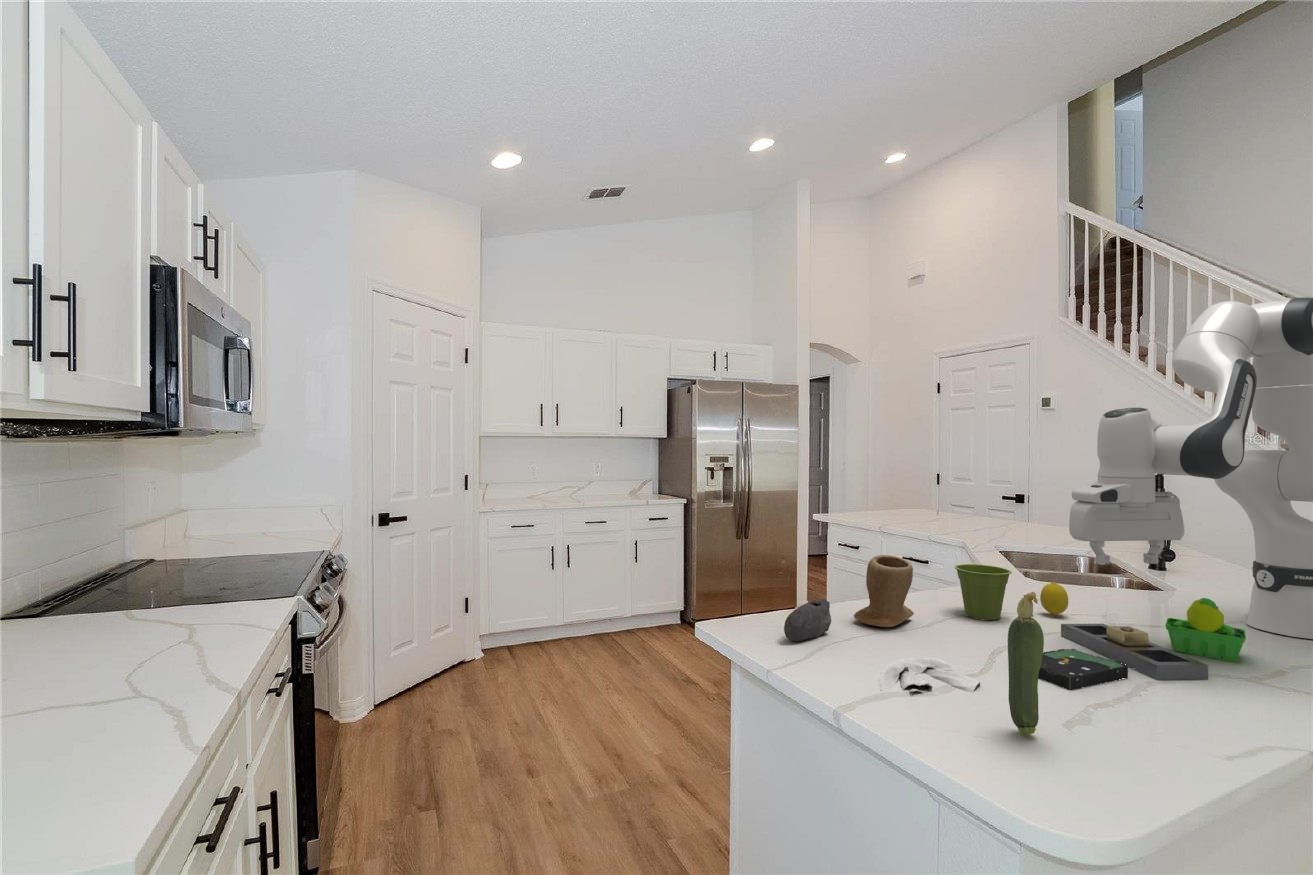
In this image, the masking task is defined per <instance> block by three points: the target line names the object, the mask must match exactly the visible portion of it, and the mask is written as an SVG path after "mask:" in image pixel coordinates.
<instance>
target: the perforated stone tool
mask: <svg viewBox="0 0 1313 875" xmlns="http://www.w3.org/2000/svg"><path fill="white" fill-rule="evenodd" d="M830 603H831V602H830V601H828V600H826V599H824V598H822V599H821V598H819V599H817V600H811V601H809V602H806V603H804V604H802V605H800V606H798V607H797V608H795V609H794V610H792V611H791V612H790V614H788V616H787V617H786V619H785V621H784V626H783V632H784V635H785V638H786V639H787V640H788V641H790V642H802V641H805V640H811V639H814V638H817V637H820V636H821V635H823V634H824V633H826V632H828V631H829V628H830V626H831V624H832V616H831V613H830V612H831V611H830V606H831V604H830Z"/></svg>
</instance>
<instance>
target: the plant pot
mask: <svg viewBox="0 0 1313 875" xmlns="http://www.w3.org/2000/svg"><path fill="white" fill-rule="evenodd" d="M954 569H955V570H956V571H957V577H958V580H959V585H960V591H961V595H962V602H963V608H964V614H965V615H966V616H967V617H972V618H973V619H975V620H979V621H981V620H984V621H993V620H1000V618H1001V615H1002V611H1003V605H1004V604H1003V603H1004V598H1005V593H1006V587H1007V584H1008V581H1009V577H1010V575H1011V574H1012V573H1013V572H1012V570H1011V569H1007V568H1004V567H1000V566H995V565H987V564H976V563H974V564H973V563H961V564H956V565H954Z"/></svg>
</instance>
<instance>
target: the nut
mask: <svg viewBox="0 0 1313 875" xmlns="http://www.w3.org/2000/svg"><path fill="white" fill-rule="evenodd" d="M1107 641H1110V642H1112V643H1114V644H1117V645H1119V646H1121V647H1124V648H1142V647H1148V641H1149V633H1148V632H1146V631H1143V630H1141V629H1138V628H1135V627H1133V626H1130V625H1111V626H1110V625H1108V626H1107Z"/></svg>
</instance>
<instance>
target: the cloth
mask: <svg viewBox="0 0 1313 875" xmlns="http://www.w3.org/2000/svg"><path fill="white" fill-rule="evenodd" d="M956 670H958V668H957V667H956V666H954V665H952V664H950V663H949V662H947V661H944V660H942V659H939V658H936V657H915V658H911V657H907V658H900V659H897V660H895V661H892V662H891V663H888V664H886V665H885V666H884V667H883V668H882V669H881V670H880V673H879V674H880V675H879V677H878V688H879V691H881V692H886V691H891V690H893V687H894V686H896V684H897V682H898V680H899V686H900V688H901V689H902V690H901V691H905V689H906V688H907V689H908V692H909V694H910V697H913V693H914V692H919V693H922V694H925V693H930V692H932V690H933V685H931V684H930V683H929V682H927V680H925V679H923V678H921V677H919V675H920V674H926V675H927V676H929V677H931V678H933V679H935V680H937V681H940V682H942V683H945V684H947V685H949V686H951V687H953V688H955V689H958V690H961V691H964V692H966V693H972V694H973V693H974V691H975V689H976V688H977V687H981V680H979V679H976V678H973V677H970V676H967V675H964V674H961V673H957V672H954V671H956ZM952 671H953V672H952Z"/></svg>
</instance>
